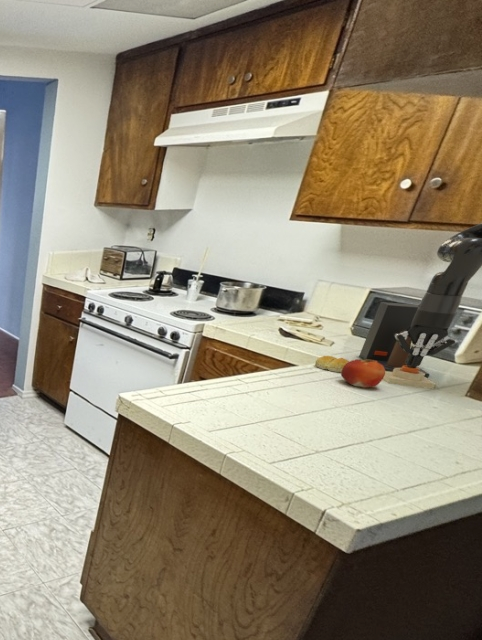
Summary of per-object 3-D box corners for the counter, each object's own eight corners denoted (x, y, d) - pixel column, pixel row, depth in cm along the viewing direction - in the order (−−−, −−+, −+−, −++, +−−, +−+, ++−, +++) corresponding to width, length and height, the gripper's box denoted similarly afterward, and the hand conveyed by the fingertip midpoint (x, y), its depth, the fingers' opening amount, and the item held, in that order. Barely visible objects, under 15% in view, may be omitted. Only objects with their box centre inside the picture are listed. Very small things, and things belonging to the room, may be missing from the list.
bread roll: (322, 363, 159) (327, 352, 157) (354, 371, 151) (359, 359, 149) (307, 365, 156) (311, 354, 154) (339, 374, 148) (344, 362, 147)
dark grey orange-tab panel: (427, 378, 146) (457, 315, 138) (376, 372, 151) (402, 310, 143) (403, 363, 160) (429, 305, 152) (357, 358, 165) (380, 301, 157)
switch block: (420, 380, 144) (425, 370, 142) (433, 389, 137) (438, 377, 136) (377, 375, 148) (382, 364, 146) (388, 383, 141) (392, 372, 140)
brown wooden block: (381, 360, 156) (395, 327, 152) (404, 363, 153) (419, 329, 149) (390, 367, 150) (405, 332, 145) (415, 370, 147) (431, 334, 143)
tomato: (383, 393, 133) (394, 366, 130) (341, 386, 138) (351, 360, 135) (373, 383, 141) (384, 358, 138) (334, 377, 145) (343, 353, 142)
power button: (414, 371, 142) (416, 366, 141) (419, 375, 139) (422, 369, 138) (398, 369, 143) (400, 364, 143) (403, 373, 140) (405, 367, 140)
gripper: (411, 309, 134) (387, 366, 140) (476, 314, 128) (448, 374, 135) (400, 305, 140) (377, 360, 146) (461, 309, 134) (435, 366, 141)
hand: (411, 366), depth 140 cm, fingers closed
